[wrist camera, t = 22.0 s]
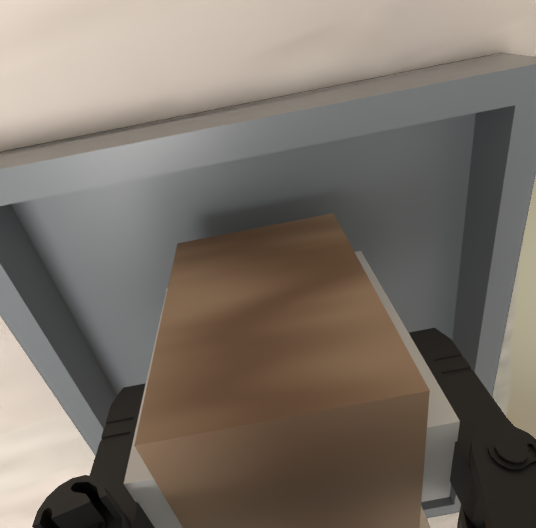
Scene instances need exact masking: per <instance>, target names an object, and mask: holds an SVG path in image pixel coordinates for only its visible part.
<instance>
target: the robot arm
mask: <svg viewBox="0 0 536 528" xmlns="http://www.w3.org/2000/svg"><path fill="white" fill-rule="evenodd" d="M355 254H356V256H357V258H358V260H359V261H360V263H361V265H362V267H363V269H364V271H365V272H366V274H367V276H368V278H369V280H370V282H371V283H372V285H373V287H374V289H375V291H376V293H377V295H378V296H379V298H380V300H381V302H382V304H383V306H384V307H385V309H386V311H387V313H388V315H389V317H390V318H391V320H392V322H393V324H394V326H395V328H396V329H397V331H398V333H399V335H400V337H401V339H402V340H403V342H404V344H405V346H406V348H407V350H408V352H409V353H410V355H411V357H412V359H413V361H414V363H415V364H416V366H417V368H418V370H419V372H420V374H421V375H422V377H423V379H424V381H425V383H426V385H427V386H428V388H429V390H430V394H429V407H428V420H427V434H426V447H425V460H424V474H423V487H422V500H421V502H425V501H430V500H435V499H441V498H446V497H449V496H450V489H451V485H452V487H453V489H454V491H455V493H456V495H457V497H458V499H459V501H460V503H461V507H460V513H459V519H458V528H536V439H535V438H533V437H532V436H531V435H530V434H529V433H527V432H525V431H523V430H521V429H518V428H516V427H515V426H513V424H511V422H510V421H509V420H508V419H507V418H506V416H505V415H504V413H503V412H502V411H501V409H500V408H499V406H498V405H497V403H496V402H495V401H494V399H493V398H492V396H491V395H490V393H489V392H488V391H487V389H486V388H485V386H484V385H483V384H482V382H481V381H480V379H479V378H478V376H477V375H476V374H475V372H474V371H473V370H471V366H470V365H469V364H468V362H467V361H466V359H465V358H464V357H462V354H461V352H460V351H459V349H458V348H457V347H456V345H455V344H454V342H453V341H452V339H450V338H449V337H447V336H446V335H445V334H443V333H442V332H440V331H439V330H437V329H436V328H430V329H425V330H419V331H414V332H409V333H408V331H407V329H406V328H405V326H404V324H403V323H402V321H401V319H400V317H399V316H398V314H397V312H396V310H395V309H394V307H393V305H392V304H391V302H390V300H389V298H388V297H387V295H386V293H385V292H384V290H383V288H382V286H381V285H380V283H379V281H378V280H377V278H376V276H375V274H374V273H373V271H372V269H371V267H370V266H369V264H368V262H367V261H366V259H365V257H364V255H363V254H362V252H361V251H356V252H355ZM167 290H168V288H167V289H166V294H167ZM166 294H165V298H164V303H163V307H162V312H161V316H160V321H159V325H158V330H157V334H156V339H155V344H154V348H153V353H152V357H151V362H150V366H149V371H148V375H147V380H146V383H145V384H140V385H134V386H129V387H124V388H122V390H121V391H120V393H119V394H118V395H117V397H116V398H115V400H114V401H113V402H112V404H111V406H110V410H109V413H108V416H107V420H106V426H104V430H103V433H102V436H101V438H102V440H101V441H100V443H99V446H98V450H97V453H96V456H95V460H94V463H93V467H92V470H91V473H90V476H87V475H84V476H80V477H76V478H72V479H70V480H69V481H67V482H65V483H63V484H62V485H60V486H58V487H57V488H56V489H55V490H54V491H53V492H52V493H51V494H50V495H49V496H48V497H47V498H46V499H45V501H44V502H43V504H42V505H41V507H40V508H39V510H38V511H37V514H36V517H35V520H34V523H33V526H32V527H33V528H183V527H182V525H181V524H180V522H179V520H178V519H177V517H176V515H175V514H174V512H173V510H172V509H171V507H170V505H169V503H168V502H167V500H166V498H165V497H164V495H163V493H162V492H161V490H160V488H159V487H158V485H157V483H156V482H155V480H154V478H153V477H152V475H151V473H150V471H149V470H148V468H147V466H146V465H145V463H144V461H143V460H142V458H141V456H140V455H139V453H138V451H137V450H136V448H135V446H134V445H135V440H136V436H137V431H138V426H139V422H140V417H141V412H142V407H143V403H144V398H145V393H146V389H147V384H148V379H149V374H150V370H151V365H152V360H153V356H154V351H155V346H156V342H157V337H158V332H159V327H160V323H161V318H162V313H163V309H164V304H165V299H166Z"/></svg>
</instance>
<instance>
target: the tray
mask: <svg viewBox="0 0 536 528" xmlns="http://www.w3.org/2000/svg"><path fill="white" fill-rule="evenodd" d="M535 174H536V57H532V56H523V55H515V54H506V53H499V54H494V55H489V56H484V57H479V58H473V59H468V60H463V61H458V62H453V63H448V64H443V65H438V66H433V67H428V68H423V69H418V70H413V71H408V72H403V73H398V74H393V75H387V76H382V77H377V78H372V79H367V80H362V81H357V82H352V83H347V84H342V85H337V86H332V87H327V88H322V89H317V90H312V91H306V92H301V93H296V94H291V95H286V96H281V97H276V98H271V99H266V100H261V101H256V102H251V103H246V104H241V105H236V106H231V107H226V108H220V109H215V110H210V111H205V112H200V113H195V114H190V115H185V116H180V117H175V118H170V119H165V120H160V121H155V122H150V123H145V124H140V125H134V126H129V127H124V128H119V129H114V130H109V131H104V132H99V133H94V134H89V135H84V136H79V137H74V138H69V139H64V140H59V141H53V142H48V143H43V144H38V145H33V146H28V147H23V148H18V149H13V150H8V151H3V152H0V316H1V317H2V319H3V320H4V322H5V323H6V325H7V326H8V328H9V329H10V331H11V332H12V334H13V335H14V336H15V338H16V339H17V341H18V342H19V344H20V345H21V347H22V348H23V350H24V351H25V353H26V354H27V356H28V357H29V359H30V360H31V362H32V363H33V364H34V366H35V367H36V369H37V370H38V372H39V373H40V375H41V376H42V378H43V379H44V381H45V382H46V384H47V385H48V387H49V388H50V389H51V391H52V392H53V394H54V395H55V397H56V398H57V400H58V401H59V403H60V404H61V406H62V407H63V409H64V410H65V412H66V413H67V415H68V416H69V417H70V419H71V420H72V422H73V423H74V425H75V426H76V428H77V429H78V431H79V432H80V434H81V435H82V437H83V438H84V440H85V441H86V442H87V444H88V445H89V447H90V448H91V450H92V451H93V453H94V454H95V456H96V453H97V450H98V446H99V443H100V441H101V440H102V438H101V436H102V433H103V430H104V426H106V420H107V416H108V413H109V410H110V406H111V404H112V402H113V401H114V400H115V398H116V397H117V395H118V394H119V393H120V391H121V390H122V388H124V387H129V386H134V385H140V384H145V383H146V380H147V375H148V371H149V366H150V362H151V357H152V353H153V348H154V344H155V339H156V334H157V330H158V325H159V321H160V316H161V312H162V307H163V303H164V298H165V294H166V289H167V288H168V285H169V280H170V276H171V271H172V266H173V261H174V257H175V252H176V247H177V243H182V242H187V241H192V240H197V239H203V238H208V237H213V236H218V235H223V234H228V233H234V232H239V231H244V230H249V229H254V228H259V227H264V226H270V225H275V224H280V223H285V222H290V221H295V220H300V219H306V218H311V217H316V216H321V215H326V214H331V213H333V214H334V215H335V217H336V219H337V221H338V223H339V225H340V226H341V228H342V230H343V232H344V234H345V236H346V237H347V239H348V241H349V243H350V245H351V247H352V249H353V250H354V252H356V251H361V252H362V254H363V255H364V257H365V259H366V261H367V262H368V264H369V266H370V267H371V269H372V271H373V273H374V274H375V276H376V278H377V280H378V281H379V283H380V285H381V286H382V288H383V290H384V292H385V293H386V295H387V297H388V298H389V300H390V302H391V304H392V305H393V307H394V309H395V310H396V312H397V314H398V316H399V317H400V319H401V321H402V323H403V324H404V326H405V328H406V329H407V331H408V333H409V332H414V331H419V330H425V329H430V328H436V329H437V330H439V331H440V332H442V333H443V334H445V335H446V336H447V337H449V338H450V339H452V341H453V342H454V344H455V345H456V347H457V348H458V349H459V351H460V352H461V354H462V357H464V358H465V359H466V361H467V362H468V364H469V365H470V366H471V370H473V371H474V372H475V374H476V375H477V376H478V378H479V379H480V381H481V382H482V384H483V385H484V386H485V388H486V389H487V391H488V392H489V393H490V395H491V396H492V394H493V389H494V384H495V379H496V374H497V368H498V363H499V358H500V353H501V348H502V343H503V338H504V333H505V328H506V322H507V317H508V312H509V307H510V302H511V297H512V292H513V287H514V281H515V276H516V271H517V266H518V261H519V256H520V251H521V246H522V240H523V235H524V230H525V225H526V220H527V215H528V210H529V204H530V199H531V194H532V189H533V184H534V179H535ZM421 506H422V508H423V511H424V513H425V516H426V518H430V517H435V516H441V515H446V514H452V513H457V512H460V507H461V503H460V501H459V499H458V497H457V495H456V493H455V491H454V489H453V487H452V485H451V489H450V496H449V497H446V498H441V499H435V500H430V501H425V502H421Z"/></svg>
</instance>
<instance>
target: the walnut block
mask: <svg viewBox="0 0 536 528" xmlns="http://www.w3.org/2000/svg"><path fill="white" fill-rule="evenodd" d="M429 394H430V390H429V388H428V386H427V385H426V383H425V381H424V379H423V377H422V375H421V374H420V372H419V370H418V368H417V366H416V364H415V363H414V361H413V359H412V357H411V355H410V353H409V352H408V350H407V348H406V346H405V344H404V342H403V340H402V339H401V337H400V335H399V333H398V331H397V329H396V328H395V326H394V324H393V322H392V320H391V318H390V317H389V315H388V313H387V311H386V309H385V307H384V306H383V304H382V302H381V300H380V298H379V296H378V295H377V293H376V291H375V289H374V287H373V285H372V283H371V282H370V280H369V278H368V276H367V274H366V272H365V271H364V269H363V267H362V265H361V263H360V261H359V260H358V258H357V256H356V254H355V252H354V250H353V249H352V247H351V245H350V243H349V241H348V239H347V237H346V236H345V234H344V232H343V230H342V228H341V226H340V225H339V223H338V221H337V219H336V217H335V215H334V214H333V213H331V214H326V215H321V216H316V217H311V218H306V219H300V220H295V221H290V222H285V223H280V224H275V225H270V226H264V227H259V228H254V229H249V230H244V231H239V232H234V233H228V234H223V235H218V236H213V237H208V238H203V239H197V240H192V241H187V242H182V243H177V247H176V252H175V257H174V261H173V266H172V271H171V276H170V280H169V285H168V290H167V294H166V299H165V304H164V309H163V313H162V318H161V323H160V327H159V332H158V337H157V342H156V346H155V351H154V356H153V360H152V365H151V370H150V374H149V379H148V384H147V389H146V393H145V398H144V403H143V407H142V412H141V417H140V422H139V426H138V431H137V436H136V440H135V445H134V446H135V448H136V450H137V451H138V453H139V455H140V456H141V458H142V460H143V461H144V463H145V465H146V466H147V468H148V470H149V471H150V473H151V475H152V477H153V478H154V480H155V482H156V483H157V485H158V487H159V488H160V490H161V492H162V493H163V495H164V497H165V498H166V500H167V502H168V503H169V505H170V507H171V509H172V510H173V512H174V514H175V515H176V517H177V519H178V520H179V522H180V524H181V525H182V527H183V528H419V527H420V513H421V500H422V487H423V474H424V460H425V447H426V434H427V420H428V407H429Z"/></svg>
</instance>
